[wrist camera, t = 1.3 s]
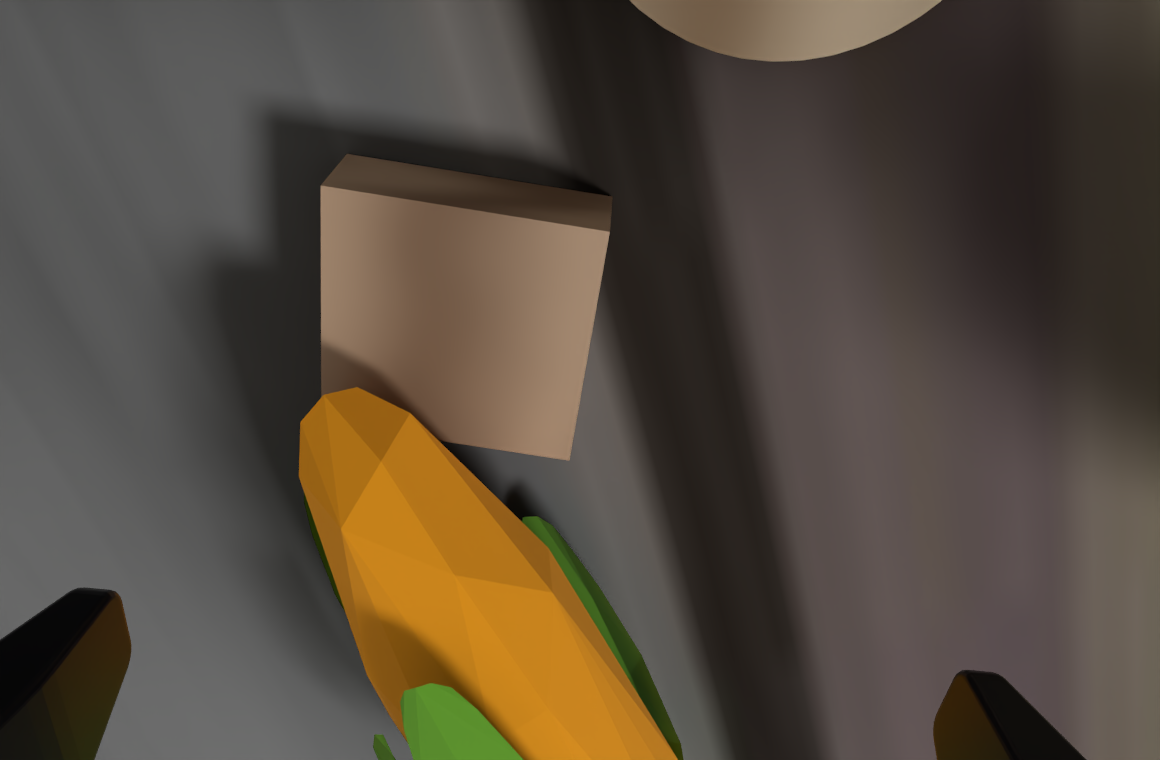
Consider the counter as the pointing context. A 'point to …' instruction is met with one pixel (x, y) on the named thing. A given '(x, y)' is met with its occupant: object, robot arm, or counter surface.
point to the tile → (461, 299)
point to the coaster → (783, 24)
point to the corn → (467, 602)
